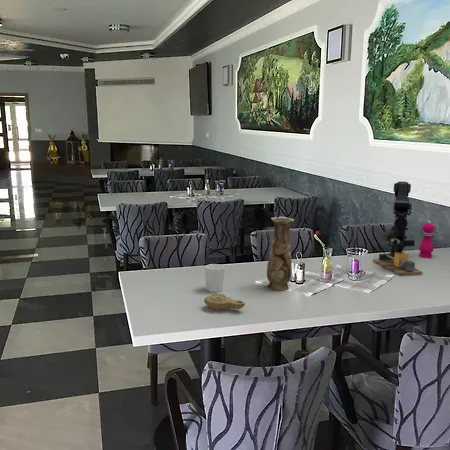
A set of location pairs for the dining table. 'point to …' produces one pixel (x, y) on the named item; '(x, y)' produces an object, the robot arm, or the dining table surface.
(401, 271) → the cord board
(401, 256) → the sleeve
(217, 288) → the white cup
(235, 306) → the oil lamp
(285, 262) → the vase
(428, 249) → the pepper mill
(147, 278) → the dining table surface
